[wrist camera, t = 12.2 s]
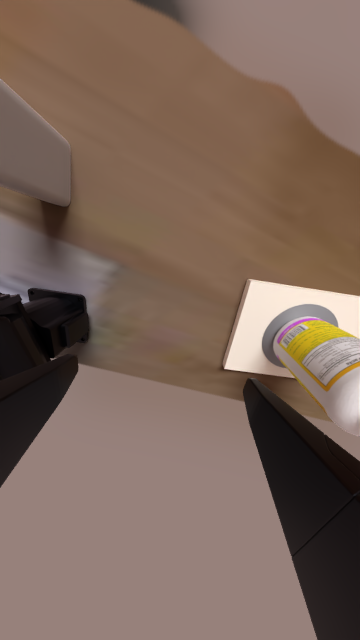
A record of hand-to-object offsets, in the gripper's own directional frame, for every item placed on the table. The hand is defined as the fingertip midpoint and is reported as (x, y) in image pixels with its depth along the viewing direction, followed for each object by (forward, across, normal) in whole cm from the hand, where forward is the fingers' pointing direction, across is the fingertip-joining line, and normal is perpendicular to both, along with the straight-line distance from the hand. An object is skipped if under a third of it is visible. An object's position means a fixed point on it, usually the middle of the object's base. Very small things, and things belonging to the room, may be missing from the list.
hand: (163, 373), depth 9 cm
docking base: (+13, -16, +2) cm, 21 cm away
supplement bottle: (+12, -16, +2) cm, 20 cm away
